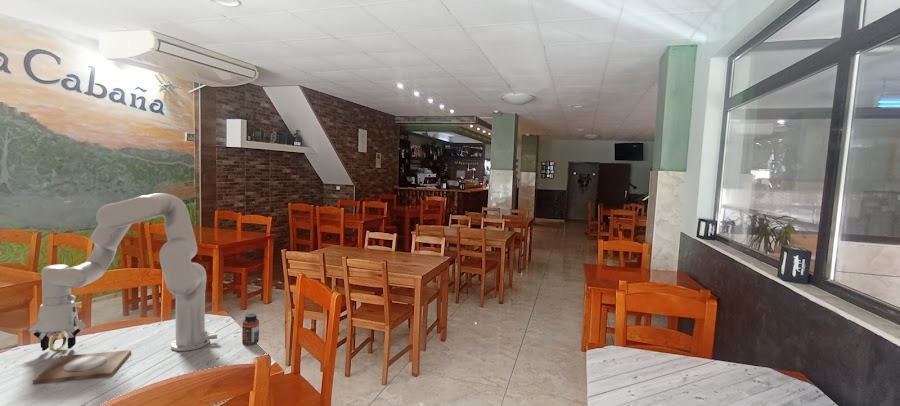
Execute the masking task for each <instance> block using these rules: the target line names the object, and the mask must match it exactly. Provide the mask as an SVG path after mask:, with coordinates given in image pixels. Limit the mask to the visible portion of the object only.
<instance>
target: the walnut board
mask: <svg viewBox="0 0 900 406" xmlns="http://www.w3.org/2000/svg"><path fill="white" fill-rule="evenodd" d="M131 354H132V349H129V350H117V351H116V350H115V351H105V352H94V353H93V352H92V353H81V354H70V355H61V356H60V357H59V358H58V359H56V360H55V361H54V362H53V363H51V365H49V366H48V367H47V368H45V370H43V371H42V372H41V373H40V374H39V375H38V376H37V375H36V377H35V378H34V379H32V385H35V384H37V385H38V384H47V383H56V382H57V383H58V382H66V381H67V382H68V381H78V380H84V379H85V380H86V379H96V378H107V377H112V376H113V375H114V374H115V373H116V372H117V371H118V369H119V368H120V367H121V366H122V365H123V364H124V362H125V361H127V359H128V357H130V355H131Z"/></svg>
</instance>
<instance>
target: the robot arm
mask: <svg viewBox="0 0 900 406" xmlns="http://www.w3.org/2000/svg"><path fill="white" fill-rule="evenodd" d="M95 216H96V217H95V219H96V222H97V223H98V225H97V226H96V228H95V229H94V230H93V232H92V233H91V234H90V237H89V239H90V241H91V243H92V244H93V249H92V251H91V253H90V254H89V255H88V257H87V259H86V260H85V262H82V263H79V264H78V265H74V266H71V267H70V266H69V264H62V263H60V264H59V263H58V264H57V263H56V264H51V265H47V266H44V267H43V268H42V269H41V301H42V303H41V304H40V306H39V310H38V315H37V322H36V323H35V324H34V325H33V326H31V327H30V328H28V331H29V333H31V334H33V336H35V337H36V338H37V339H38V340H39V341H40V348H41V351H42V352H44V351H46V350H48V349H49V339H50V336H48V334H49V333H52V332H61V331H66V332H67V335H68V340H67V348H68V350H69V349H73V347H74V346H75V345H76V340H77V339H76V336H77V335H78V334H79V333H80V332H82V330H83V329H84V328H85V327H86V326H87V325H86V323H84V322H83V321H81V320H80V319H79V315H78V310H77V309H78V308H77V305H76V303H75V300H76V299H77V295H73V294H72V289H78V288H83V287H84V286H86V285H89V284H91V283H93V282H96V281H97V280H99V279H100V278H101V277H103V275H104V274H105V273H106V271H107V270H108V269H109V267H110V265H111V264H112V262H113V261H114V259H115V257H116V253H117V251H118V246H119V244H120V243H121V241H122V240H123V238H124V237H125V236H126V234H127V233H128V231H129V229H130V227H131V226H132V225H134V224H137V223H141V222H145V221H148V220H153V219H155V218H158V217H163V219H164V221H163V222H164V230H165V234H166V240H167V242H165V243H164V244H163V245H162V246H161V247H160V250H159V255H158V256H159V257H158V258H159V263H160V267H161V271H162V272H161V273H162V275H163V278H164V283H165V287H166V288H167V291H169V292H170V294H173V295H174V296H175V339H174V340H173V341H172V342H171V343H170V348H171V349H172V350H173V351H177V352H187V351H189V352H190V351H193V350H194V351H195V350H197V349H201V348H203V347H205V346H207V345H208V344H209V343H210V340H217V339H218V333H216V332H215V331H214V332H213V331H212V332H208V330H207V328H205V327H206V323H205V321H206V319H205V318H206V317H205V316H206V307H205V306H206V304H205V303H206V286H207V270H206V268H205V267H204V266H203V265H202V264H199V263H198V262H192V259H193V258H194V257H195V256H196V255H197V253H198V244H197V240H196V238H195V237H196V236H195V233H194V229H193V225H192V221H191V217H190V212H189V209H188V207H187V205H186V204H185V202H184V200H182V199H180V198H179V197H177V196H176V195H173V194H169V193H165V192H157V193H156V192H155V193H151V194H146V195H141V196H137V197H134V198H133V197H132V198H130V199H126V200H125V199H124V200H121V201H118V202H113V203H108V204H104V205H103V206H101V207H100V208H99V209H98V210H97V212H96V215H95ZM77 326H78V327H77ZM75 327H77V329H75Z"/></svg>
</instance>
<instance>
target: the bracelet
mask: <svg viewBox="0 0 900 406" xmlns="http://www.w3.org/2000/svg"><path fill="white" fill-rule="evenodd" d="M60 335H61V337H62V339H63V340H62V344H61V346H59V347H58V348H56V349H55V342H56V340H57V339H58V337H59V336H60ZM68 338H69V335H68V334H67V332H66V331H61V332H51V334H50V335H49V348H48V349H49V350H50V351H51V352H54V353H58V352H59V353H60V352H61V350H63V349H64V348H65V347H66V345H67V344H68Z"/></svg>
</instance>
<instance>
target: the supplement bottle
mask: <svg viewBox="0 0 900 406" xmlns="http://www.w3.org/2000/svg"><path fill="white" fill-rule="evenodd" d="M244 318H245V319H244V320H243V321H242V330H241V331H242V332H241V334H242V335H241V339H242V341H241V343H242V344H243V345H244V346H253V345H256V344H257V343H259V340H260V320H259V319H258V318H257V313H253V312H251V313H247V314H245V317H244Z"/></svg>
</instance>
